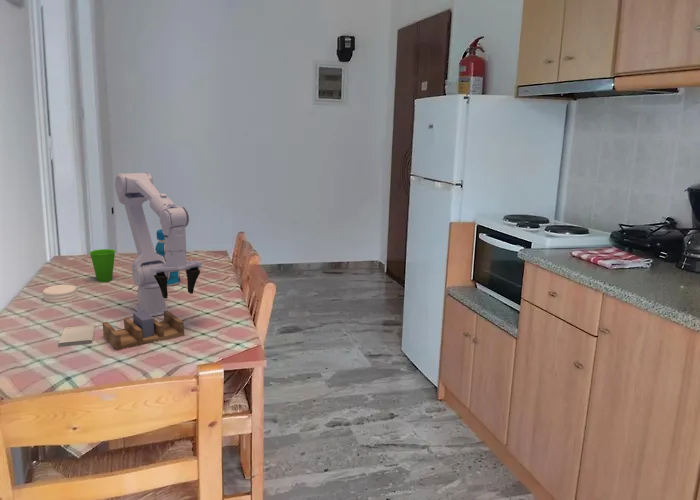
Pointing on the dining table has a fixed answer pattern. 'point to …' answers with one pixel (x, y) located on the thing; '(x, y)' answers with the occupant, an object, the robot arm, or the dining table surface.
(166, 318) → the rack
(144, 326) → the tall slate-grey prism
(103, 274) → the cup
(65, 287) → the coaster
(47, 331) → the dining table surface
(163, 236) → the beverage bottle
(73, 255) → the dining table surface
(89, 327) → the hard drive
